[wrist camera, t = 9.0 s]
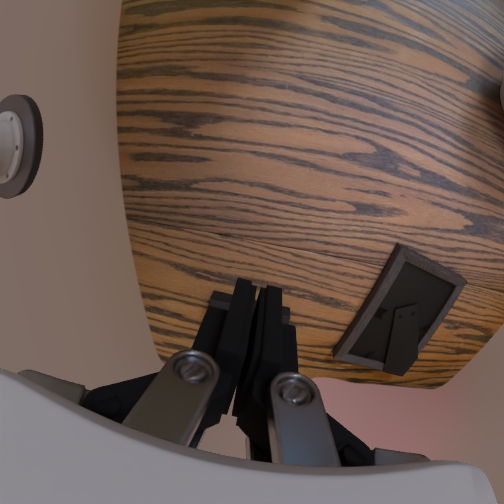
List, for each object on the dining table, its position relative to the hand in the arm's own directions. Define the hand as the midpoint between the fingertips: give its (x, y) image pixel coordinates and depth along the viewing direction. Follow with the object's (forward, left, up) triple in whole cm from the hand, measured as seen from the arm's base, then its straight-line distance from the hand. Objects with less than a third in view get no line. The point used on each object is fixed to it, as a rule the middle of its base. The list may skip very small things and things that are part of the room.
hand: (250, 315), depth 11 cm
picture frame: (+22, -11, -22) cm, 33 cm away
